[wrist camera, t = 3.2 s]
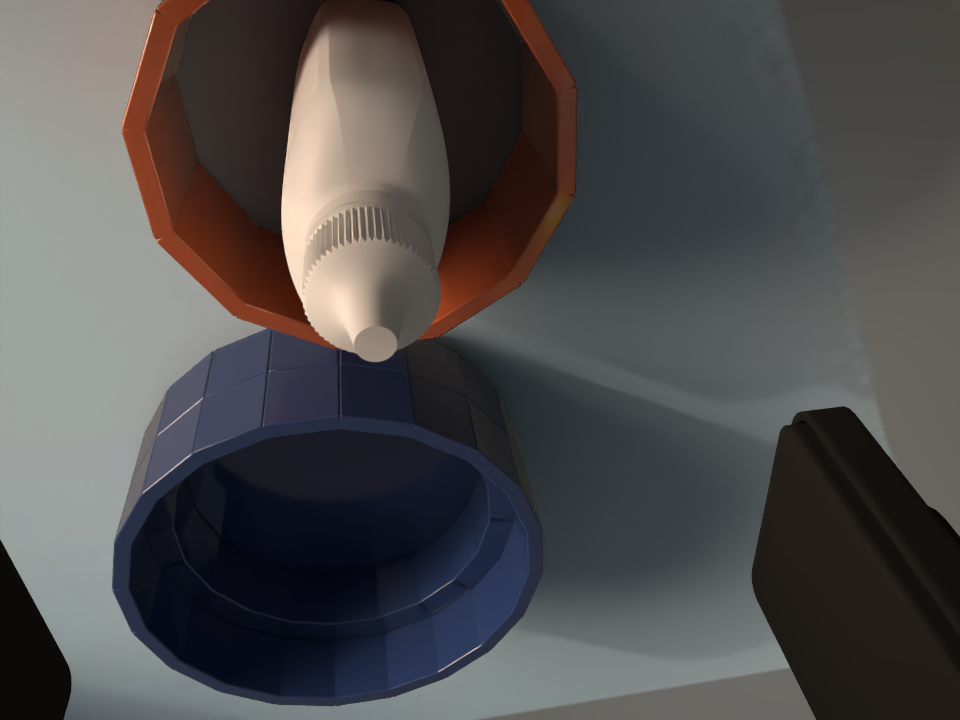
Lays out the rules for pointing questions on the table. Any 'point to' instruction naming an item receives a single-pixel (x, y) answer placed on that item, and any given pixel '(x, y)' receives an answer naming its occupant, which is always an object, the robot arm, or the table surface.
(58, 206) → the table surface
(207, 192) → the brown round container
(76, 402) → the table surface
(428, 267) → the eye dropper bottle
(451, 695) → the table surface
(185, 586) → the bowl
